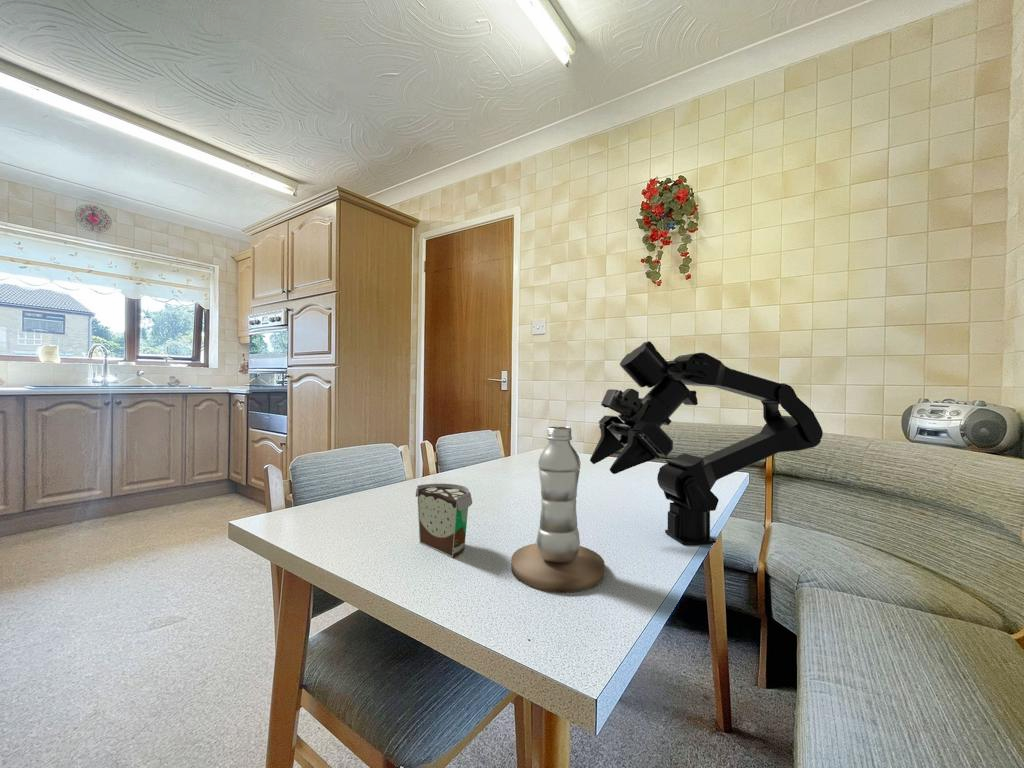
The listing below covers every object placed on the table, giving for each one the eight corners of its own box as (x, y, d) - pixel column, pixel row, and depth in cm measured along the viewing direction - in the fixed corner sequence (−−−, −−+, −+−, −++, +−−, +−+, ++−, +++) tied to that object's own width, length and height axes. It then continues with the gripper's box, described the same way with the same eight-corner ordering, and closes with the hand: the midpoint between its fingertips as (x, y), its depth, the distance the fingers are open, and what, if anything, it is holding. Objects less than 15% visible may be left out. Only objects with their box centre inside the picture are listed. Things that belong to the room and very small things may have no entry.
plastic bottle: (527, 558, 61) (528, 427, 62) (557, 547, 66) (558, 425, 66) (558, 573, 56) (559, 430, 57) (589, 560, 61) (590, 428, 61)
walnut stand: (585, 548, 69) (585, 540, 69) (620, 588, 55) (620, 577, 55) (504, 553, 67) (505, 544, 67) (520, 596, 53) (520, 584, 53)
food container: (486, 550, 68) (487, 491, 68) (458, 561, 64) (459, 497, 64) (442, 532, 76) (443, 479, 77) (414, 540, 72) (415, 485, 72)
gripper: (608, 376, 82) (556, 430, 80) (655, 371, 64) (589, 442, 62) (644, 414, 83) (593, 468, 81) (700, 421, 65) (636, 491, 63)
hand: (600, 466), depth 72 cm, fingers open, 9 cm apart
